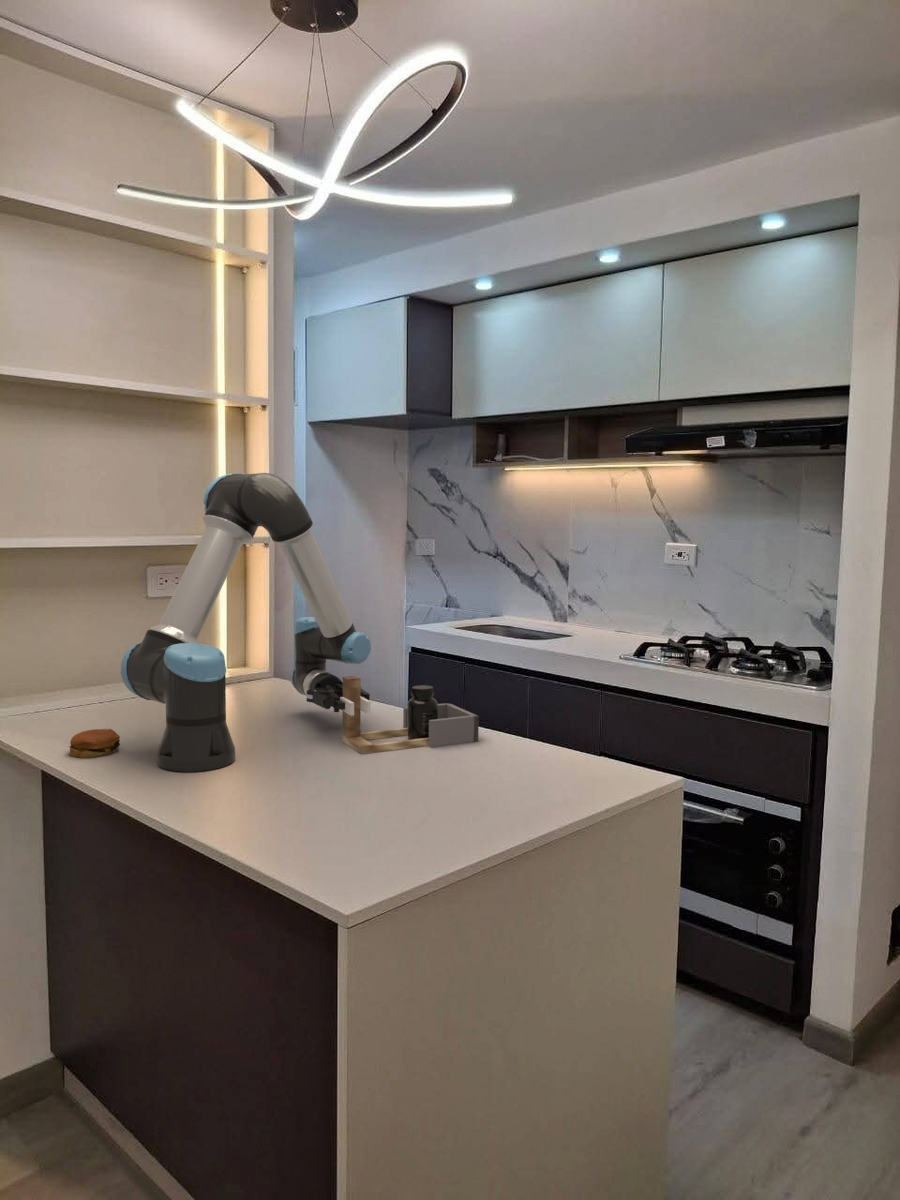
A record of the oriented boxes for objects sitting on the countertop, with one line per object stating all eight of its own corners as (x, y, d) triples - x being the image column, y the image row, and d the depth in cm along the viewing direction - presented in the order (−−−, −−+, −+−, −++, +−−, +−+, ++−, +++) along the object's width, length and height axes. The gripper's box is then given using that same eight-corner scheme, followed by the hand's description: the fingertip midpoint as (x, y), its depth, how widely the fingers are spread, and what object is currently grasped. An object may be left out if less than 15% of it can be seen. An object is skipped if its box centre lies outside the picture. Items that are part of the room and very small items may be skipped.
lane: (448, 727, 209) (448, 702, 209) (478, 742, 197) (478, 715, 196) (403, 733, 204) (403, 707, 203) (431, 748, 191) (431, 721, 191)
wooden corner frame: (430, 731, 205) (430, 669, 204) (452, 742, 196) (452, 677, 194) (342, 741, 195) (342, 676, 194) (361, 754, 186) (361, 686, 184)
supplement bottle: (439, 736, 201) (439, 684, 200) (436, 744, 195) (436, 690, 193) (409, 735, 202) (409, 683, 201) (405, 743, 195) (405, 689, 194)
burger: (63, 759, 181) (62, 736, 180) (80, 747, 190) (79, 725, 190) (112, 759, 181) (111, 737, 181) (126, 747, 190) (126, 726, 190)
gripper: (355, 700, 214) (395, 721, 193) (290, 706, 206) (324, 729, 186) (355, 669, 213) (395, 687, 192) (290, 675, 206) (324, 694, 185)
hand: (360, 708), depth 189 cm, fingers closed on wooden corner frame, 3 cm apart
